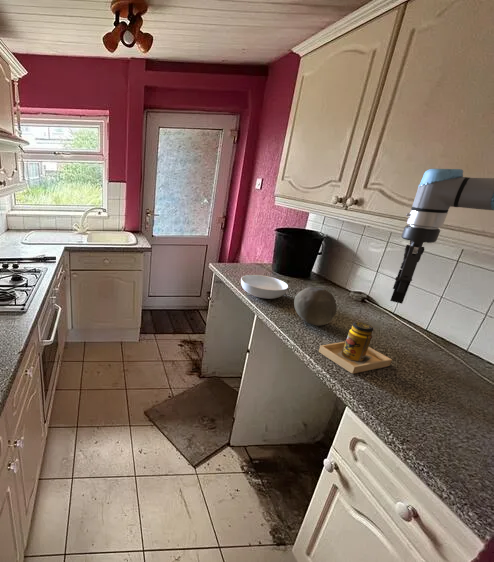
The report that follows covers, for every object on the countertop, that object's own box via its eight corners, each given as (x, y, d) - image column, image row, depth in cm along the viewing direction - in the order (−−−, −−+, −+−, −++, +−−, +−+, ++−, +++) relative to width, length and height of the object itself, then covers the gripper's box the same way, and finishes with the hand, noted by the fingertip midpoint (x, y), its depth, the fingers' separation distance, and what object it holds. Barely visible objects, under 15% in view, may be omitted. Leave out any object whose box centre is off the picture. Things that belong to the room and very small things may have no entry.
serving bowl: (294, 304, 142) (297, 290, 140) (248, 303, 142) (251, 289, 139) (272, 287, 162) (275, 274, 159) (232, 286, 161) (234, 273, 158)
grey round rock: (319, 316, 132) (329, 283, 126) (337, 333, 119) (349, 297, 113) (284, 313, 133) (293, 281, 127) (299, 330, 120) (309, 295, 114)
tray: (353, 345, 111) (355, 339, 110) (389, 365, 100) (392, 359, 99) (318, 351, 107) (320, 345, 106) (352, 373, 96) (354, 367, 95)
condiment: (336, 354, 104) (346, 323, 100) (347, 347, 109) (358, 317, 104) (361, 366, 99) (373, 333, 94) (371, 358, 103) (384, 326, 99)
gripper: (406, 220, 99) (384, 282, 106) (404, 230, 81) (378, 303, 89) (439, 223, 94) (413, 288, 102) (443, 234, 77) (413, 312, 84)
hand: (397, 295), depth 95 cm, fingers open, 13 cm apart
